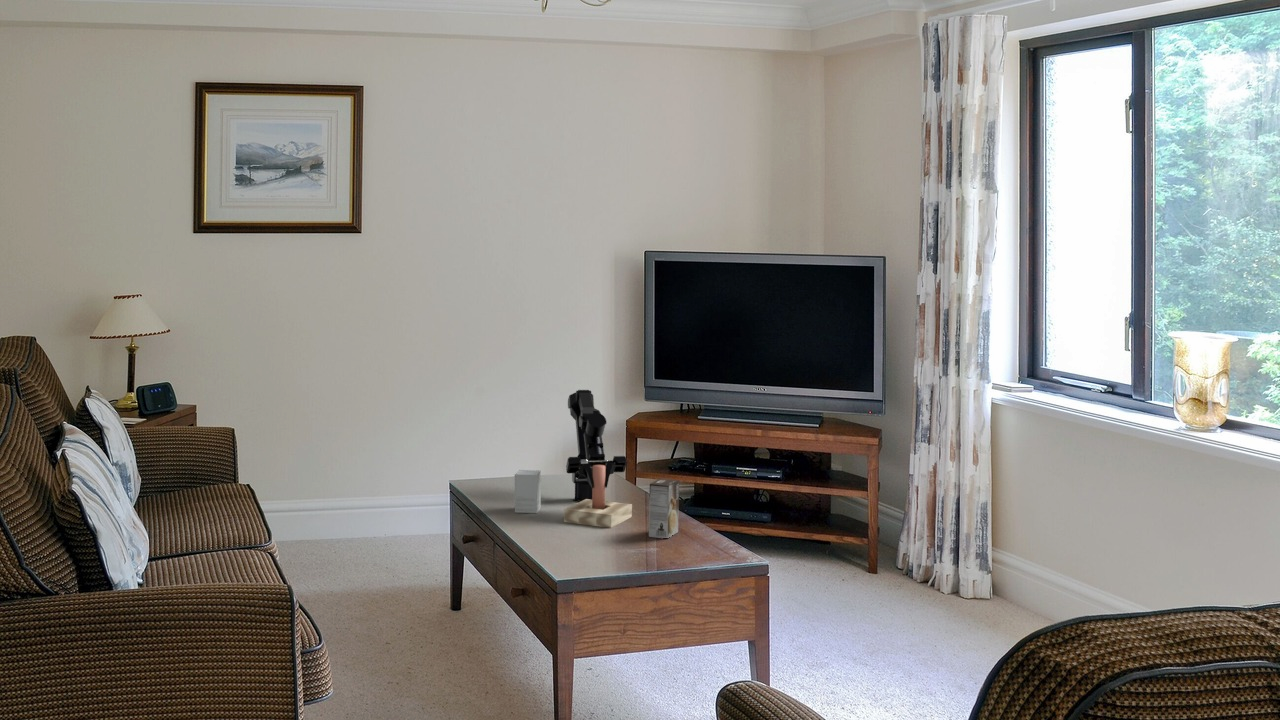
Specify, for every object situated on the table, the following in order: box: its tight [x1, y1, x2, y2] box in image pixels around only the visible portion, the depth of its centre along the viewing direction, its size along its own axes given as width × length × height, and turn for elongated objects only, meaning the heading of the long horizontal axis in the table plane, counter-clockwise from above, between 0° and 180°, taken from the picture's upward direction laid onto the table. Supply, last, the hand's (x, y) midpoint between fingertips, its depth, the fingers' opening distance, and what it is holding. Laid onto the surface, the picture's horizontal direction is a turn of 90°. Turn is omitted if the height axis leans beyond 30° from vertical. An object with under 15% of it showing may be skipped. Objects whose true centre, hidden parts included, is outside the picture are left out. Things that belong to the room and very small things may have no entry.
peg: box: [592, 465, 606, 510], centre depth 341 cm, size 4×4×14 cm
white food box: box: [648, 478, 680, 539], centre depth 324 cm, size 9×6×16 cm
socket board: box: [563, 499, 633, 529], centre depth 341 cm, size 16×16×4 cm
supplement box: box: [514, 469, 542, 514], centre depth 350 cm, size 7×7×13 cm
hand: (599, 487), depth 339 cm, fingers closed on peg, 4 cm apart
